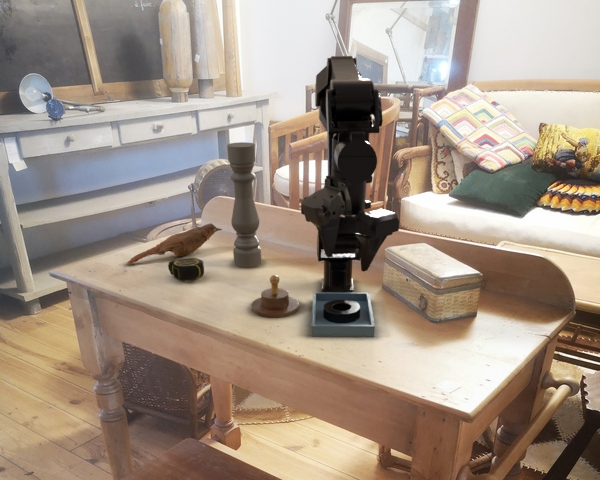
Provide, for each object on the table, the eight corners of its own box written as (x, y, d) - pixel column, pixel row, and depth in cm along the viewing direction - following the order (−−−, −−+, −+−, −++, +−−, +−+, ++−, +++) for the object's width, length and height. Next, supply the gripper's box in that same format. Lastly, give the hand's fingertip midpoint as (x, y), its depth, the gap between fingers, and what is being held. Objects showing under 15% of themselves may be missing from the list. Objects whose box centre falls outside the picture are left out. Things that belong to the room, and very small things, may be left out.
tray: (313, 301, 115) (313, 292, 114) (368, 302, 115) (369, 292, 114) (311, 336, 102) (311, 325, 101) (374, 336, 102) (375, 326, 101)
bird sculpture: (126, 271, 137) (119, 251, 134) (217, 234, 148) (213, 214, 144) (138, 280, 133) (131, 259, 130) (231, 241, 143) (227, 221, 140)
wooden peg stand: (254, 298, 117) (252, 266, 113) (299, 298, 116) (299, 267, 113) (249, 317, 109) (247, 284, 106) (298, 318, 109) (297, 284, 105)
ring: (323, 308, 111) (323, 299, 110) (358, 308, 111) (359, 299, 110) (323, 323, 106) (323, 314, 105) (360, 323, 105) (361, 314, 104)
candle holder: (257, 268, 131) (251, 147, 118) (230, 267, 132) (221, 146, 119) (264, 259, 136) (259, 142, 123) (238, 258, 137) (231, 141, 124)
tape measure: (200, 270, 130) (198, 254, 128) (208, 281, 125) (207, 263, 123) (169, 275, 128) (167, 258, 126) (176, 286, 123) (174, 268, 121)
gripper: (274, 167, 97) (277, 259, 105) (350, 186, 85) (347, 290, 93) (326, 158, 103) (325, 247, 111) (405, 176, 90) (397, 274, 99)
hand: (346, 263), depth 103 cm, fingers open, 9 cm apart
